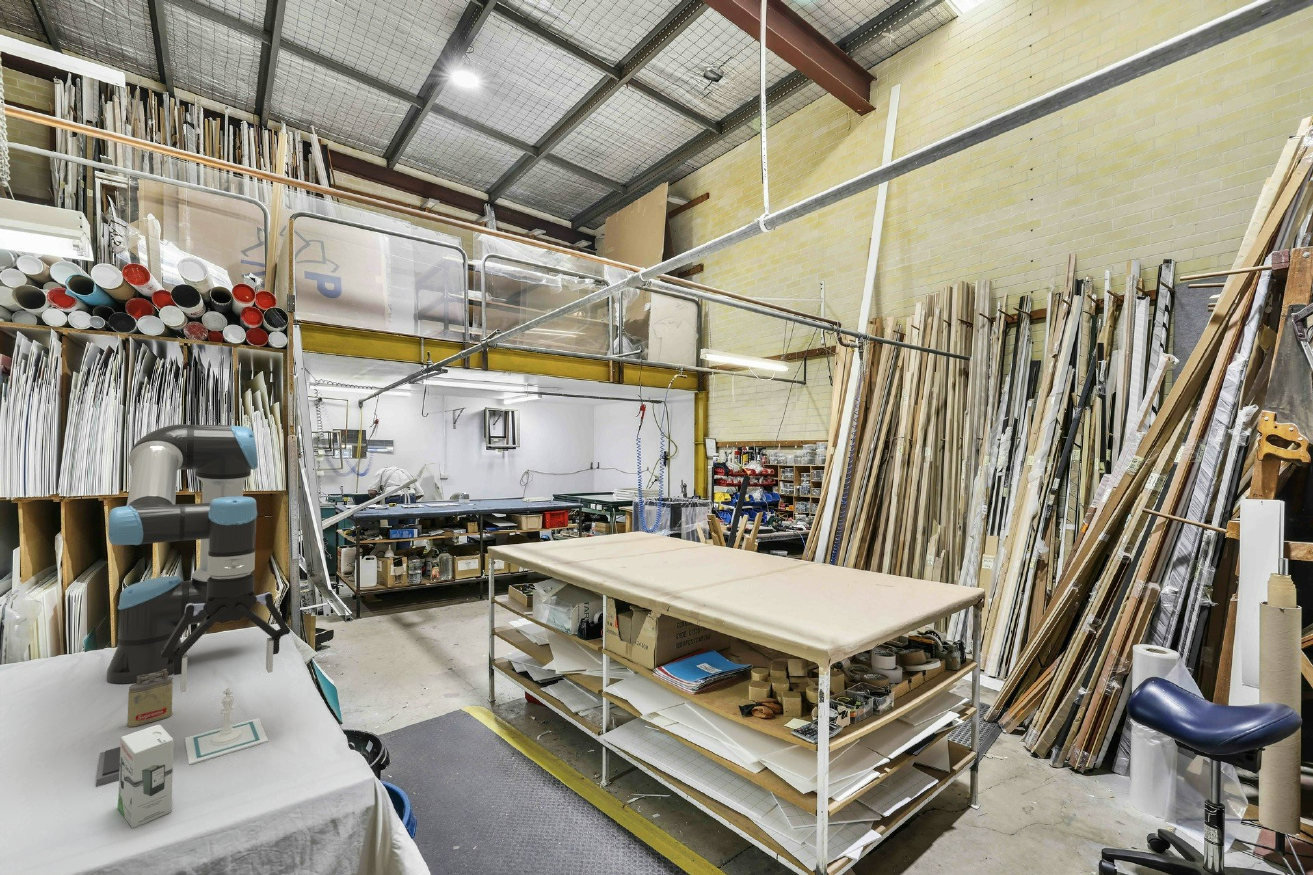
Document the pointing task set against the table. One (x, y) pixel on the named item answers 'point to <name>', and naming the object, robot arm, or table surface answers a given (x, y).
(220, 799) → the table surface
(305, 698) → the table surface
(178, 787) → the table surface
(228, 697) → the chess piece
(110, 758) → the ink pad
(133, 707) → the lighter
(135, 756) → the ink box
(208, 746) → the print card
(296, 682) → the table surface
